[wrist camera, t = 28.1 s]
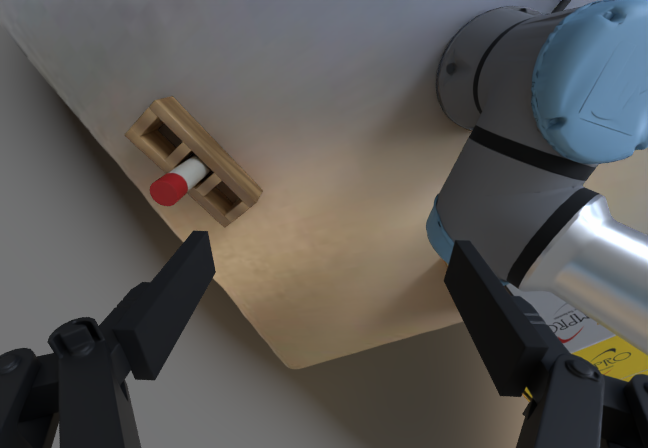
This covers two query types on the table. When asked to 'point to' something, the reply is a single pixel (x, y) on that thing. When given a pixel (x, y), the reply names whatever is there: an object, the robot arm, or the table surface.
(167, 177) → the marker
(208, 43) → the table surface
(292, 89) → the table surface
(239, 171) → the pen holder
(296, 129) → the table surface
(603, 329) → the packaging box
